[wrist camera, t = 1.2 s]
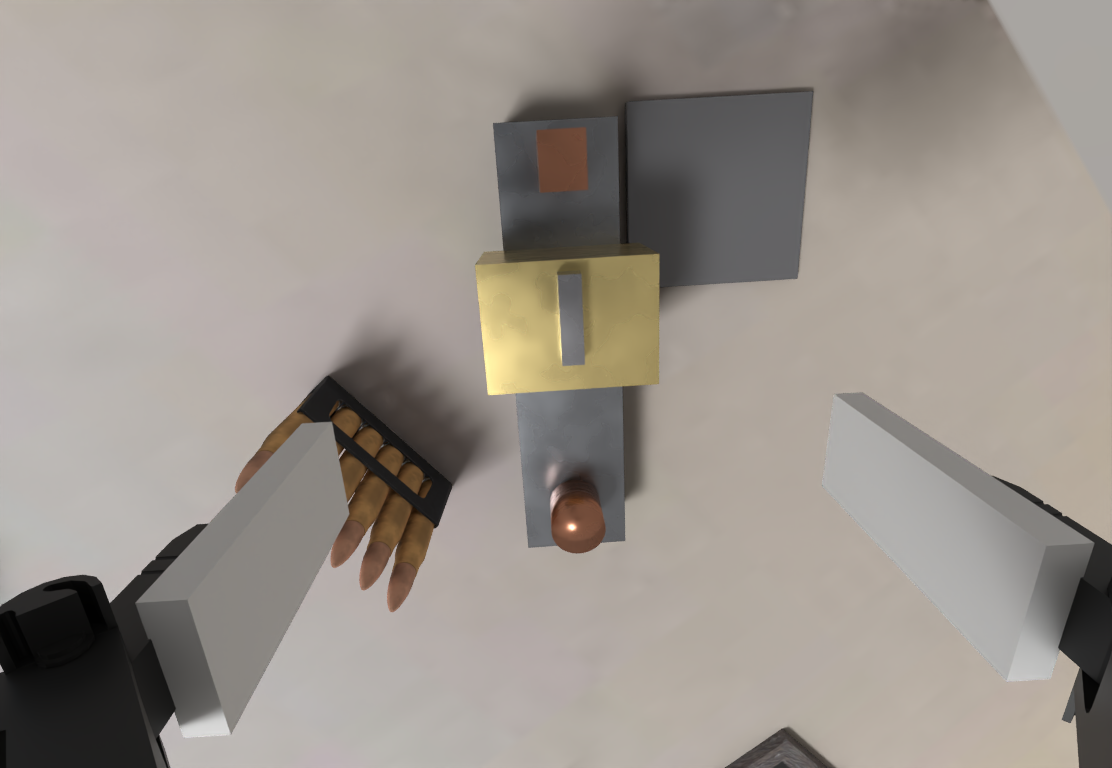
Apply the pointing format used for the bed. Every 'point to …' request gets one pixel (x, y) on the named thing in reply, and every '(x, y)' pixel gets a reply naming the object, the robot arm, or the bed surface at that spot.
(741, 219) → the felt mat
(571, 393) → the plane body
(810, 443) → the bed surface
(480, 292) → the lever cap
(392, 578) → the ammunition clip
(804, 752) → the picture frame
